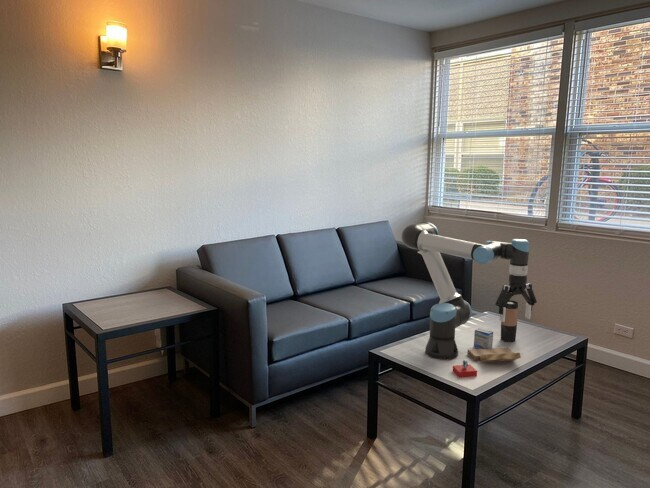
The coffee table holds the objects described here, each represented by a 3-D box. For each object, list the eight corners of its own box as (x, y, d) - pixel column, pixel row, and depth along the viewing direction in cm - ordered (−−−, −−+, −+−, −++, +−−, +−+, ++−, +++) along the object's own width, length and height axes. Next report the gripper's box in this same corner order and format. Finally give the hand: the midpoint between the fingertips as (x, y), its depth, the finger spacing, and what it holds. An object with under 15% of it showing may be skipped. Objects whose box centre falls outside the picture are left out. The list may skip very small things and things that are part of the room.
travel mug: (518, 342, 257) (520, 304, 253) (502, 342, 257) (505, 304, 253) (512, 337, 264) (515, 300, 261) (498, 337, 264) (500, 300, 261)
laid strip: (474, 361, 234) (474, 356, 234) (467, 354, 242) (467, 349, 241) (515, 358, 236) (516, 353, 236) (507, 352, 244) (507, 347, 244)
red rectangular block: (469, 370, 225) (470, 356, 223) (476, 376, 218) (477, 362, 217) (452, 371, 223) (453, 358, 222) (458, 378, 217) (459, 364, 216)
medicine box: (473, 346, 252) (474, 330, 250) (477, 344, 255) (478, 327, 253) (488, 350, 246) (489, 333, 245) (492, 348, 249) (493, 331, 248)
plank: (486, 360, 226) (485, 354, 227) (480, 361, 233) (479, 356, 233) (520, 358, 228) (519, 352, 229) (513, 359, 235) (512, 354, 235)
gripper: (499, 277, 220) (496, 324, 224) (547, 273, 227) (543, 319, 231) (489, 273, 227) (486, 319, 231) (535, 270, 234) (532, 314, 238)
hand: (515, 319), depth 231 cm, fingers open, 13 cm apart
